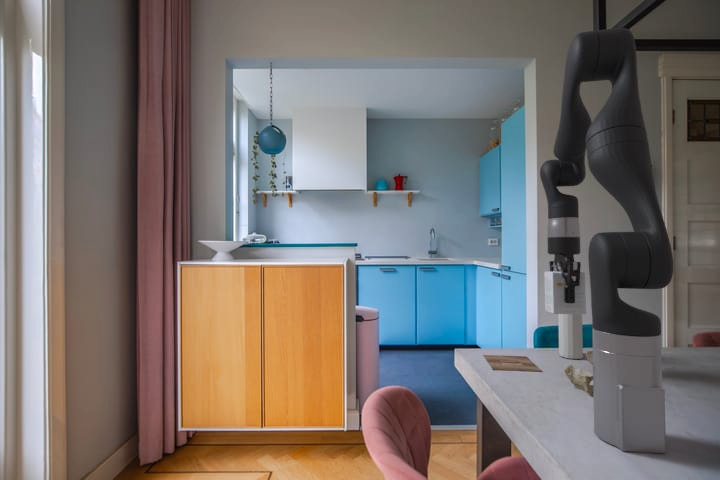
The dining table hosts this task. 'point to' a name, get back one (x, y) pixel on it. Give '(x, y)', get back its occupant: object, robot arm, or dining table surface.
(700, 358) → the dining table surface
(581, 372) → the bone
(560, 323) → the paper towel roll
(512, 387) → the dining table surface
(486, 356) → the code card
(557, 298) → the small box
